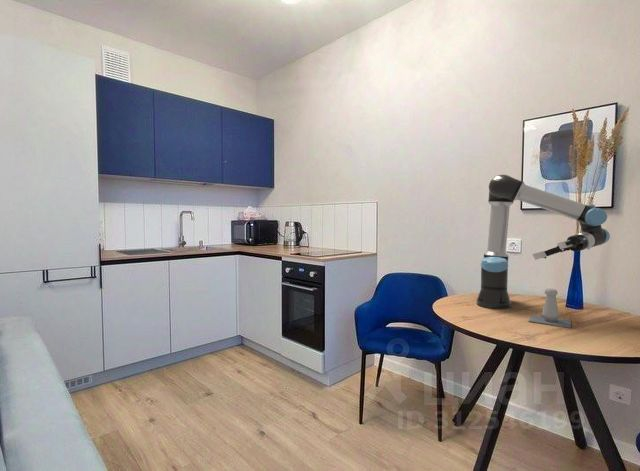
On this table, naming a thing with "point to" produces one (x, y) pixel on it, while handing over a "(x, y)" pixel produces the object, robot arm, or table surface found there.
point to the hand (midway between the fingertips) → (546, 251)
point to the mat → (559, 321)
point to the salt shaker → (550, 306)
